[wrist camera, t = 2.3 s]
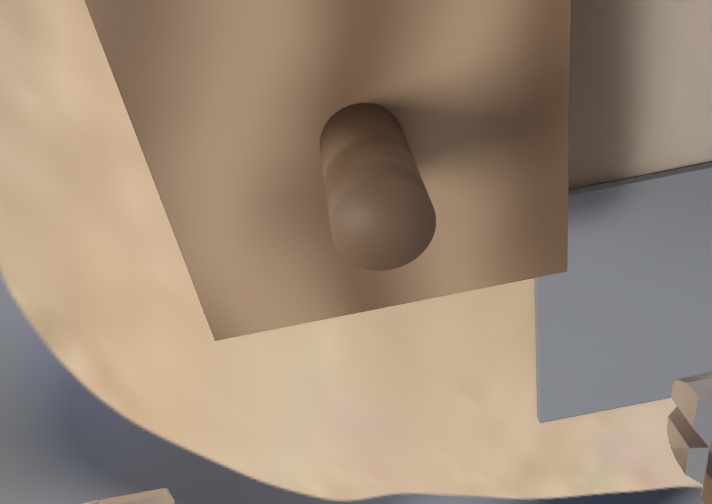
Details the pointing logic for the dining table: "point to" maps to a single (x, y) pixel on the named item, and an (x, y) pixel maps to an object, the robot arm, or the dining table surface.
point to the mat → (627, 295)
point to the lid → (348, 146)
